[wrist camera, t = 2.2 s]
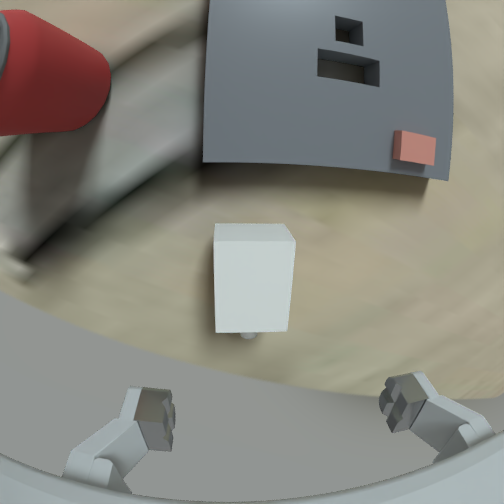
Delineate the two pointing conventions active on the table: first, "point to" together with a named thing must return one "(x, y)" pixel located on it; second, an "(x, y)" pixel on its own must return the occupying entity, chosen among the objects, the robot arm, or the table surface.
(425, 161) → the socket plate
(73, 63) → the beer can
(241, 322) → the plug
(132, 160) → the table surface
